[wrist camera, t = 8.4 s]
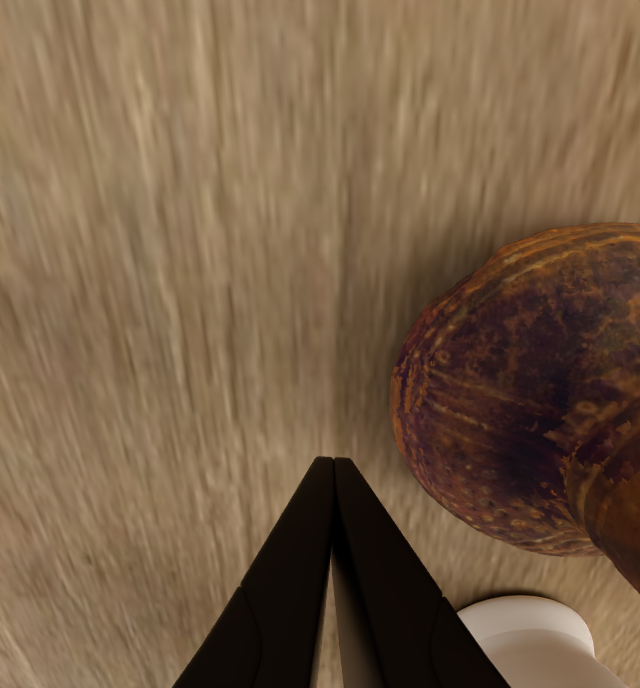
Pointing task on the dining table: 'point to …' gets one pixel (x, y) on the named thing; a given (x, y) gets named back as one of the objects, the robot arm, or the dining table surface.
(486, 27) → the dining table surface
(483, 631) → the jar
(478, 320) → the brown clay pot
